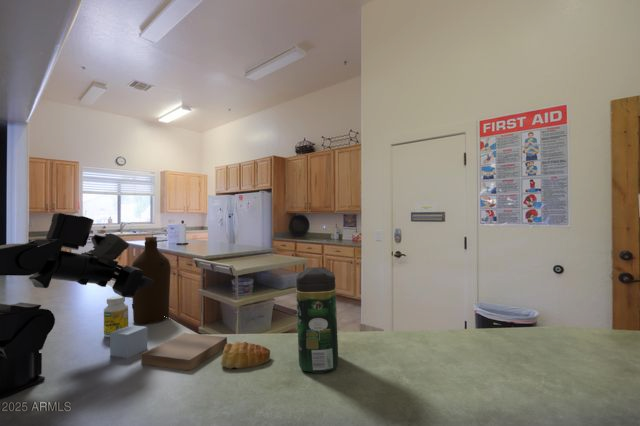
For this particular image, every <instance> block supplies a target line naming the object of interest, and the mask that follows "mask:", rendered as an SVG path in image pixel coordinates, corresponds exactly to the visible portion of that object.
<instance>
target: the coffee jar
mask: <svg viewBox="0 0 640 426" xmlns="http://www.w3.org/2000/svg"><path fill="white" fill-rule="evenodd" d="M295 283H296V287H295V288H296V291H295V292H296V293H295V294H296V296H295V297H296V315H297V316H296V322H297V323H296V324H297V326H296V327H297V346H298V353H297V354H298V364H299V365H298V366H299V367H300V369H301V370H302V371H306V372H310V373H313V374H323V373H326V372H330V371H333V370H336V368H337V367H338V364H339V345H338V344H339V343H338V341H339V340H338V338H339V337H338V319H337V291H336V290H337V289H336V276H335V273H333V272H332V270H329V269H327V268H326V267H323V266H319V267H318V266H317V267H307V268H305V269H304V270H302V271H301V272H299V273H298V274H297V276H296V282H295Z"/></svg>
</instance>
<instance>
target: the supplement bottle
mask: <svg viewBox="0 0 640 426" xmlns="http://www.w3.org/2000/svg"><path fill="white" fill-rule="evenodd" d="M125 301H126V297H122V296H120V295H117V296H116V295H115V296H111V297H107V298H106V304H107V306H105V307H104V308H103V335H104V337H105V338H110V333H111V332H114V331H116V330H119V329H122V328H125V327H127V326H129V305H128V304H127V303H125Z"/></svg>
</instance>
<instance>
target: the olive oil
mask: <svg viewBox="0 0 640 426" xmlns="http://www.w3.org/2000/svg"><path fill="white" fill-rule="evenodd" d="M157 239H158V238H157V236H147V237H144V240H145V241H144V250H143V251H142V252H141V253H140V254H139V255H138V256H137V258H135V260H134V261H133V262H132V264H131V266H132V267H136V268H138V269H140V270H143V276H144V277H147V278H150V279H152V280H154V283H153V284H152V285H150V286H148V287H145V288H143V289H141V290H138V291H136V292H135V294H134V296H133V297H131V299H132V303H131V306H132V307H131V308H132V312H133V313H132V317H133V323H134V324H135V325H151V324H155V323H156V324H157V323H159V322H163V321H166V320H168V318H169V317H170V290H171V289H170V288H171V271H172V270H171V268H172V267H171V263H170V261H169V259H168V258H167V257H166V256H165V255H164V254H163V253H162V252H161V251H160V250H159V248H158V241H157ZM164 316H165V317H164ZM166 317H167V318H166Z"/></svg>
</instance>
